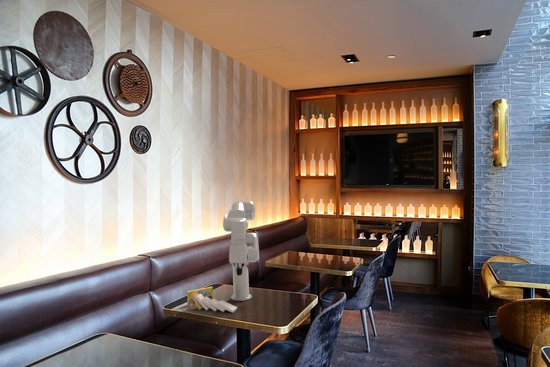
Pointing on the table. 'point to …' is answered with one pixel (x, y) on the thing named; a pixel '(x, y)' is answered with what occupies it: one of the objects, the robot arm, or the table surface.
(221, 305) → the domino
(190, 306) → the end block
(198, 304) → the domino
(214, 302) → the domino
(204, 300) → the domino
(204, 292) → the candy box
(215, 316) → the table surface
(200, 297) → the domino
